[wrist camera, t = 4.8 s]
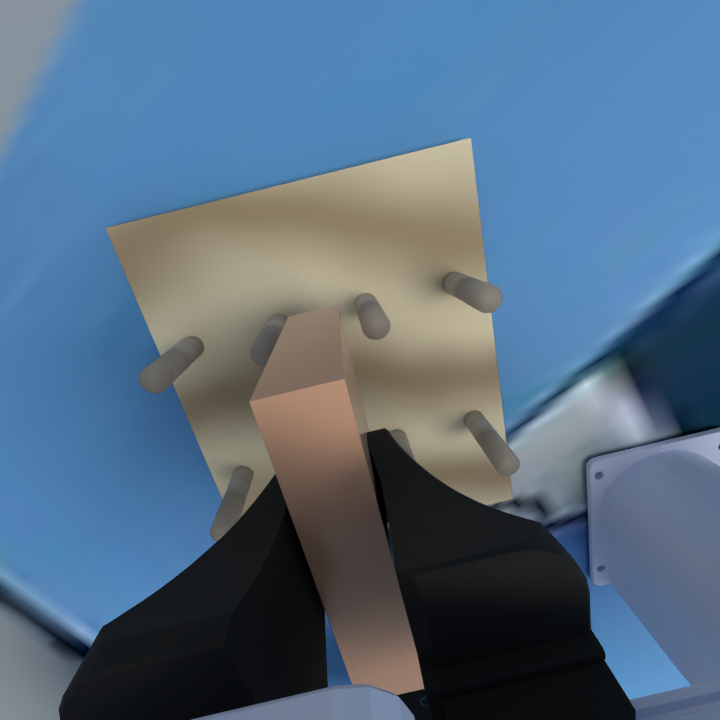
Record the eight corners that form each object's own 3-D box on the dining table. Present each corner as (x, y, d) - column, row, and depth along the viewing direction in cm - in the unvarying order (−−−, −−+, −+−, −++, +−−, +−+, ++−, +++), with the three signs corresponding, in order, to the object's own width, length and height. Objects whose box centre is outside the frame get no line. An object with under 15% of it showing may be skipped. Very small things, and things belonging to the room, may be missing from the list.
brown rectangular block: (388, 505, 17) (426, 688, 10) (347, 515, 17) (359, 703, 10) (337, 304, 14) (344, 379, 7) (288, 316, 14) (248, 401, 7)
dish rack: (506, 489, 22) (551, 557, 18) (252, 550, 22) (232, 633, 18) (464, 142, 16) (516, 109, 12) (116, 228, 16) (33, 228, 12)
